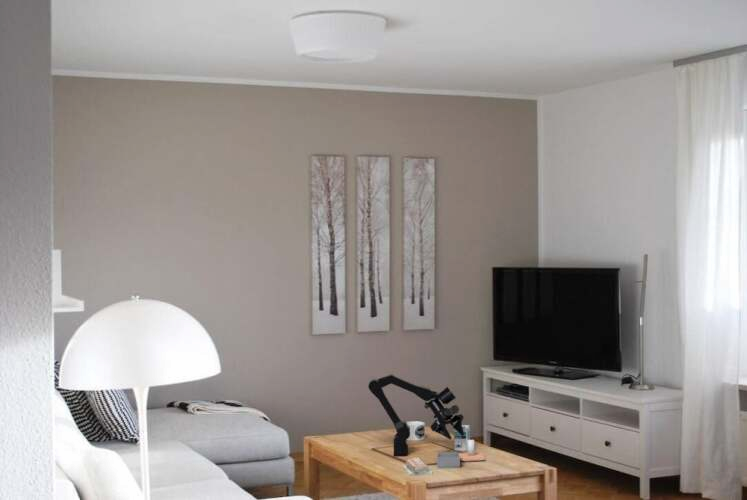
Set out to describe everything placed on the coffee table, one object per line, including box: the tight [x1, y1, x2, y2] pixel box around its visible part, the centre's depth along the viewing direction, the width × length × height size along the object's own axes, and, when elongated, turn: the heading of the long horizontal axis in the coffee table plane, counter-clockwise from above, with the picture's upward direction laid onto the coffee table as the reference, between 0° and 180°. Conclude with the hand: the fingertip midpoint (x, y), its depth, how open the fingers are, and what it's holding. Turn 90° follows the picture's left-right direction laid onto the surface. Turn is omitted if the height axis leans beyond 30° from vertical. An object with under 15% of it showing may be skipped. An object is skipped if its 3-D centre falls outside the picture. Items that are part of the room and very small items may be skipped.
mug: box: [406, 420, 426, 442], centre depth 506 cm, size 13×10×8 cm
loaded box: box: [436, 451, 461, 469], centre depth 444 cm, size 10×10×5 cm
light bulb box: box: [453, 424, 471, 452], centre depth 480 cm, size 11×7×11 cm, turn 168°
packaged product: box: [402, 456, 433, 477], centre depth 435 cm, size 18×5×10 cm
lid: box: [459, 439, 486, 463], centre depth 455 cm, size 10×10×9 cm
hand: (457, 437), depth 460 cm, fingers open, 9 cm apart
